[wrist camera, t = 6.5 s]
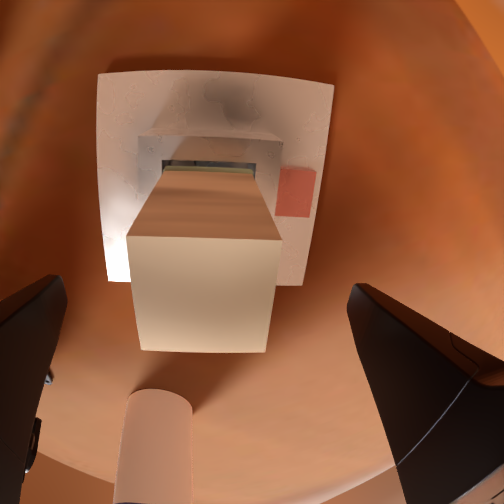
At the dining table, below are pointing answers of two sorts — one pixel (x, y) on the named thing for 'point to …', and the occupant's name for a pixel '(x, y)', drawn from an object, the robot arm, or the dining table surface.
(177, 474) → the cylindrical container
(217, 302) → the post
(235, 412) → the dining table surface
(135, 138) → the sleeve stand
